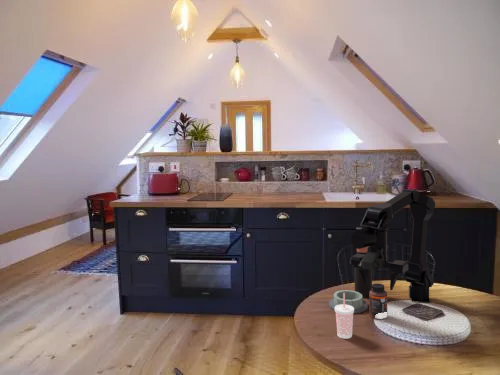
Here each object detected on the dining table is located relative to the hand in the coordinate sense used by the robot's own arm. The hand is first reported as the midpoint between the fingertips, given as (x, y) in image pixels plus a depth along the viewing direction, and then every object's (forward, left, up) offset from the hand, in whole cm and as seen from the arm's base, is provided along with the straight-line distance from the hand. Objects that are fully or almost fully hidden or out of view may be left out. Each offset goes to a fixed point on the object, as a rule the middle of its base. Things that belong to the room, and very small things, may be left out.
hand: (378, 287), depth 137 cm
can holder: (+10, -8, -11) cm, 17 cm away
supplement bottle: (0, 0, -11) cm, 11 cm away
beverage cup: (+12, +15, -11) cm, 22 cm away
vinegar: (+4, -19, -11) cm, 23 cm away
